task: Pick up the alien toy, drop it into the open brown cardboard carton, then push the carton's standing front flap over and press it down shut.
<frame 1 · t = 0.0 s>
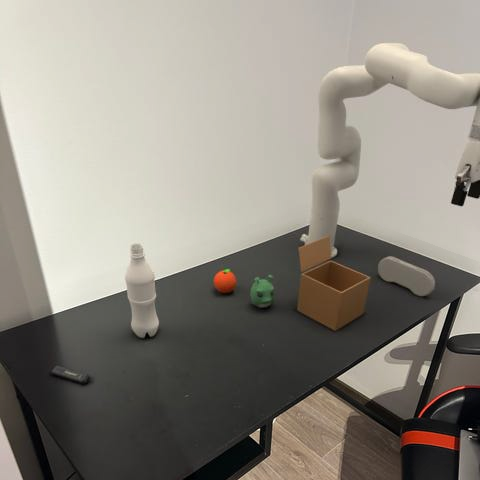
hand: (465, 201, 121), 31 cm above the table, tool pointing down, fingers open, 9 cm apart
clementine: (225, 291, 140), on the table
usb stick: (71, 377, 105), on the table
flap: (315, 253, 127), point 16 cm above the table, hinge at 105.0°
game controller: (402, 287, 145), on the table
water bottle: (146, 333, 121), on the table
alien toy: (262, 307, 133), on the table
carton: (330, 312, 131), on the table
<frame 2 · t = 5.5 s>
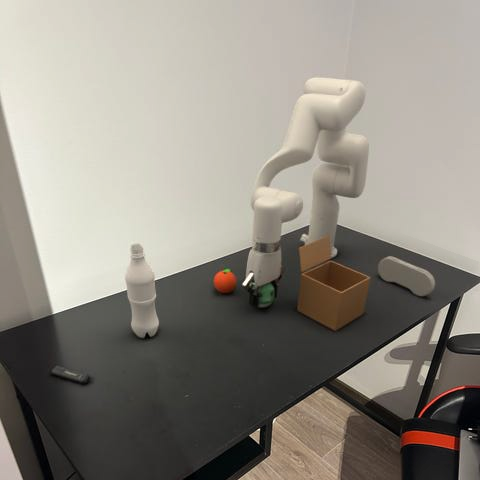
hand: (262, 299, 132), 2 cm above the table, tool pointing down, fingers closed on alien toy, 7 cm apart
alien toy: (262, 307, 133), on the table, touching gripper
everything else where it was.
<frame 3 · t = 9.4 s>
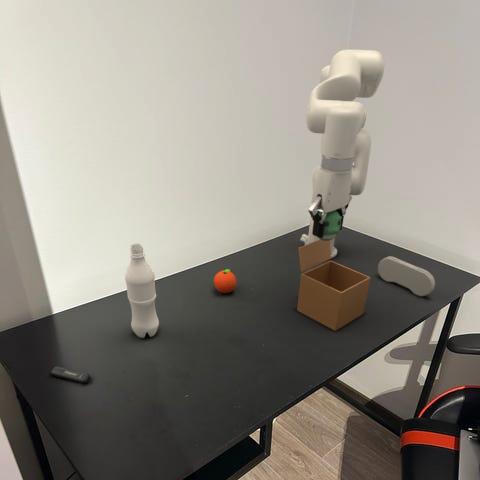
hand: (327, 232, 118), 24 cm above the table, tool pointing down, fingers closed on alien toy, 7 cm apart
alien toy: (325, 241, 120), point 22 cm above the table, touching gripper
everything else where it was.
when the fingers open (12 cm above the table, at t = 13.5 s): alien toy drops 9 cm, resting on carton.
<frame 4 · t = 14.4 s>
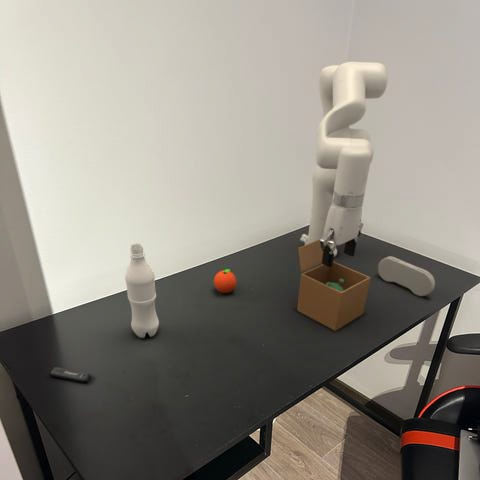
hand: (338, 259, 123), 17 cm above the table, tool pointing down, fingers open, 9 cm apart
alien toy: (330, 309, 132), resting on carton
everything else where it was.
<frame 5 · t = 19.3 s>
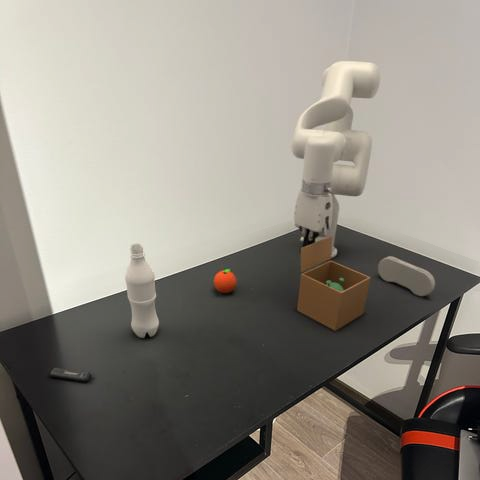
hand: (308, 250, 129), 16 cm above the table, tool pointing down, fingers closed
flap: (316, 253, 127), point 16 cm above the table, hinge at 97.4°, touching gripper
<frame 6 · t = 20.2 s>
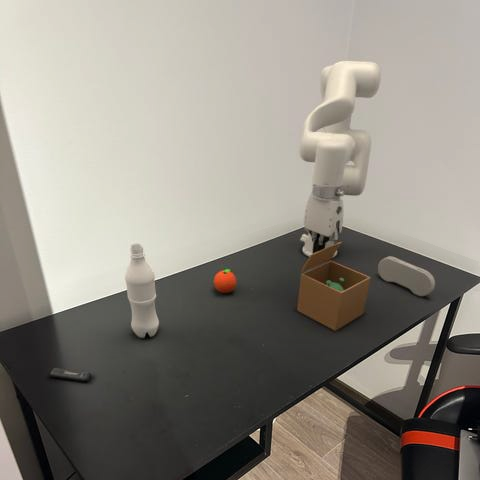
hand: (317, 255, 127), 16 cm above the table, tool pointing down, fingers closed
flap: (321, 256, 126), point 16 cm above the table, hinge at 66.1°, touching gripper
everything else where it was.
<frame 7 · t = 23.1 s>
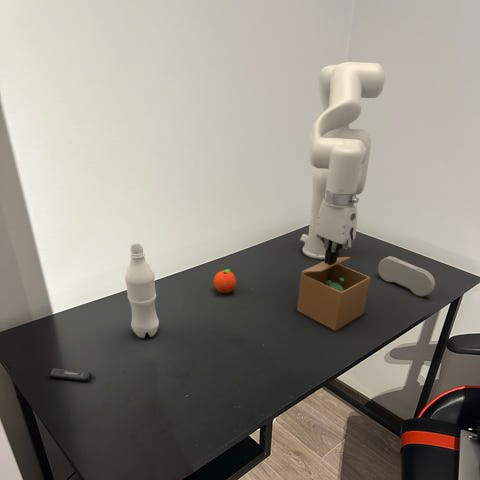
hand: (330, 262, 124), 15 cm above the table, tool pointing down, fingers closed
flap: (326, 264, 126), point 14 cm above the table, hinge at 23.4°, touching gripper
everything else where it was.
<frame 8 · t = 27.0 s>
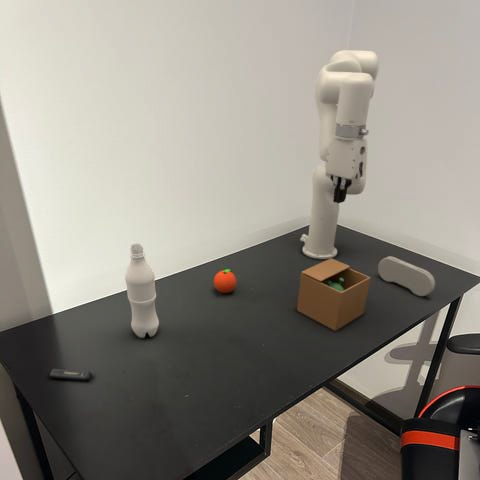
hand: (338, 201, 125), 29 cm above the table, tool pointing down, fingers closed
flap: (326, 269, 127), point 13 cm above the table, hinge at 0.0°
everything else where it was.
at the end: alien toy inside the target area in the carton (0.5 cm from its centre), point 0.3 cm above the carton's base; flap at +0° (first picture: +105°) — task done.
